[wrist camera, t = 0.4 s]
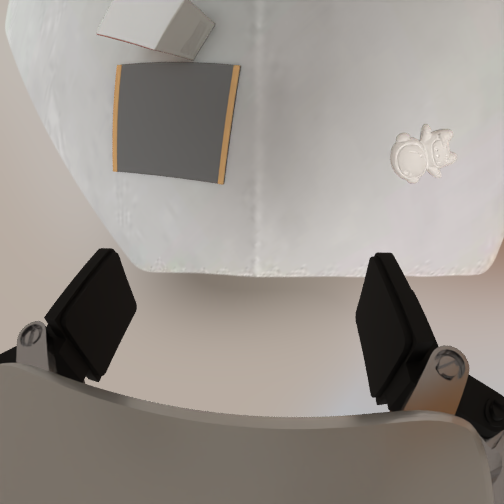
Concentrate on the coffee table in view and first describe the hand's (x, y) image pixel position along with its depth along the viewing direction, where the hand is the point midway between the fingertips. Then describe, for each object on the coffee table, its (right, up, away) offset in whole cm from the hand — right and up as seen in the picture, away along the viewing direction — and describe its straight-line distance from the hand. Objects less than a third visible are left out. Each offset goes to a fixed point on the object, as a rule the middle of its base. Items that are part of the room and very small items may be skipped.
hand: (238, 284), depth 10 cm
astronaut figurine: (+26, +16, +23) cm, 39 cm away
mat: (-11, +20, +24) cm, 33 cm away
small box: (-9, +30, +17) cm, 36 cm away
